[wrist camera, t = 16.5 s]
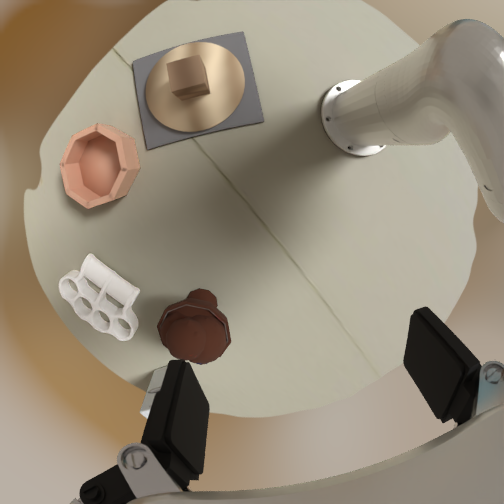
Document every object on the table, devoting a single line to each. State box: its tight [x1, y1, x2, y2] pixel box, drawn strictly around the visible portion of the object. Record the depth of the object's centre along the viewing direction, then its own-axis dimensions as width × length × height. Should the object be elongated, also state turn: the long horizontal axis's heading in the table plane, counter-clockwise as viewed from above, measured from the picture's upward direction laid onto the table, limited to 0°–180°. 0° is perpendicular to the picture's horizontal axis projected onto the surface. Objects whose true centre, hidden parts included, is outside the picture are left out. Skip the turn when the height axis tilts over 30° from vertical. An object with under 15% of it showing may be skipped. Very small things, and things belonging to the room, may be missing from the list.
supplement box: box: [140, 366, 199, 419], centre depth 47 cm, size 7×7×13 cm
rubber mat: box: [133, 32, 264, 150], centre depth 34 cm, size 18×16×1 cm
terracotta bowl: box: [60, 123, 140, 209], centre depth 36 cm, size 12×12×5 cm
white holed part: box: [59, 253, 140, 341], centre depth 45 cm, size 3×18×15 cm
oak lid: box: [146, 42, 245, 132], centre depth 31 cm, size 15×15×7 cm
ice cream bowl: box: [157, 289, 231, 365], centre depth 40 cm, size 11×11×15 cm
